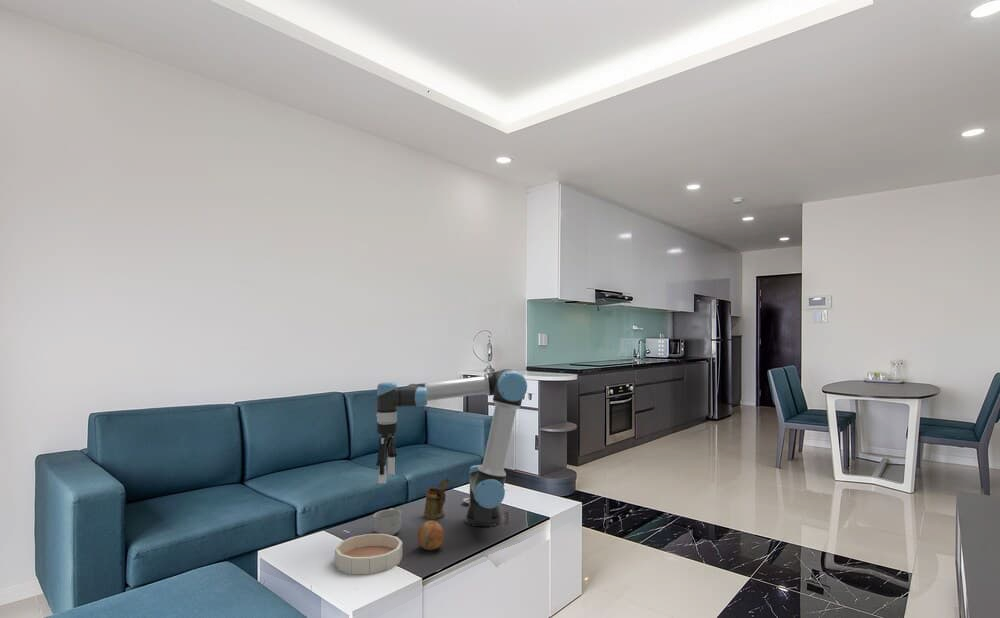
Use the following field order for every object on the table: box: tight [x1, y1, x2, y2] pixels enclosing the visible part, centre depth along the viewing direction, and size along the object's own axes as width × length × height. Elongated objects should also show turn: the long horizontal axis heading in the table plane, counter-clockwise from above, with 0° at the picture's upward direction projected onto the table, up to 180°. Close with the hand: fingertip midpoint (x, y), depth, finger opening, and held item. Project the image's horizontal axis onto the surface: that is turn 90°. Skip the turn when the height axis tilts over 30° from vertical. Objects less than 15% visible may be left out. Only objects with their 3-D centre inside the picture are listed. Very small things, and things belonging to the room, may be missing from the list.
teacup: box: [372, 507, 402, 536], centre depth 210 cm, size 14×11×8 cm
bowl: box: [334, 533, 403, 575], centre depth 183 cm, size 22×22×5 cm
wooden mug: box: [422, 476, 451, 520], centre depth 228 cm, size 9×14×18 cm, turn 49°
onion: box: [417, 520, 445, 551], centre depth 193 cm, size 10×10×10 cm
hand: (386, 478), depth 205 cm, fingers open, 13 cm apart
